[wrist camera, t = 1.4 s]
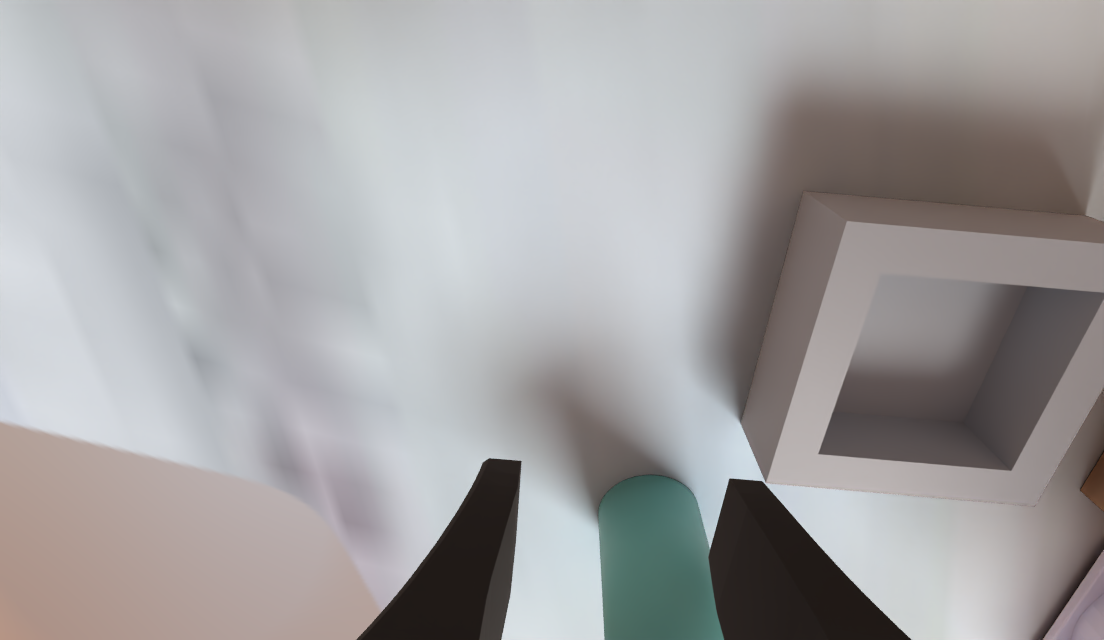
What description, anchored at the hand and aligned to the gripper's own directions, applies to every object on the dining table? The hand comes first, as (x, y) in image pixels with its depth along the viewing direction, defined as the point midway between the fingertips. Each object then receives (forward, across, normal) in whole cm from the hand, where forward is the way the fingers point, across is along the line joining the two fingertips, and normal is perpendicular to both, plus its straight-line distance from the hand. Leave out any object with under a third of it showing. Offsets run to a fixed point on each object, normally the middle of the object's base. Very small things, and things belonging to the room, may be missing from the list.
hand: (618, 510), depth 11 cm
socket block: (+10, -10, 0) cm, 14 cm away
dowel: (+9, -3, +9) cm, 13 cm away
